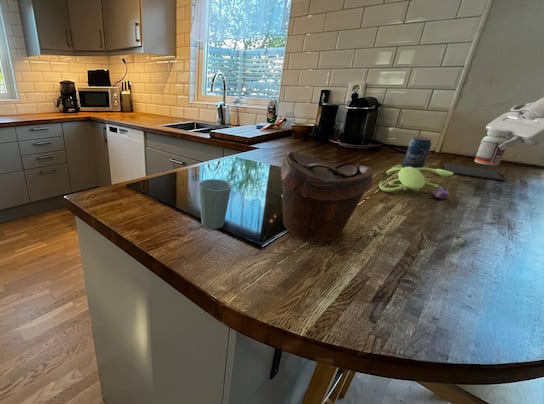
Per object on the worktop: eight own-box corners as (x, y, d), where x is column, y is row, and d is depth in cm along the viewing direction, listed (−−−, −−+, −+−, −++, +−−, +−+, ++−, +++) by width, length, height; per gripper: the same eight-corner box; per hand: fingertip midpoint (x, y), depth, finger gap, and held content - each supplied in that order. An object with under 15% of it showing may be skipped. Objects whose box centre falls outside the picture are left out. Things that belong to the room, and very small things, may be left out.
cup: (202, 232, 69) (204, 191, 65) (193, 218, 76) (194, 180, 72) (232, 229, 71) (236, 188, 67) (221, 215, 78) (224, 178, 74)
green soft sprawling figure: (448, 183, 105) (454, 167, 103) (449, 206, 86) (456, 188, 83) (387, 172, 115) (391, 158, 113) (375, 191, 96) (380, 174, 94)
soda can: (402, 167, 121) (411, 138, 117) (402, 164, 127) (411, 135, 122) (423, 171, 118) (433, 140, 113) (422, 167, 123) (432, 138, 118)
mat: (495, 172, 118) (495, 170, 118) (503, 181, 107) (504, 179, 107) (443, 165, 126) (444, 163, 126) (446, 173, 116) (447, 171, 116)
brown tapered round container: (377, 245, 65) (402, 167, 58) (292, 252, 62) (308, 170, 55) (328, 211, 81) (343, 146, 74) (259, 215, 78) (267, 148, 71)
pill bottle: (494, 162, 102) (508, 128, 97) (501, 166, 97) (517, 131, 92) (471, 160, 104) (484, 127, 100) (477, 164, 99) (490, 130, 95)
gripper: (578, 128, 84) (520, 160, 89) (521, 119, 102) (476, 146, 108) (566, 111, 83) (509, 145, 89) (511, 105, 101) (466, 133, 107)
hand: (490, 145), depth 98 cm, fingers closed on pill bottle, 6 cm apart
